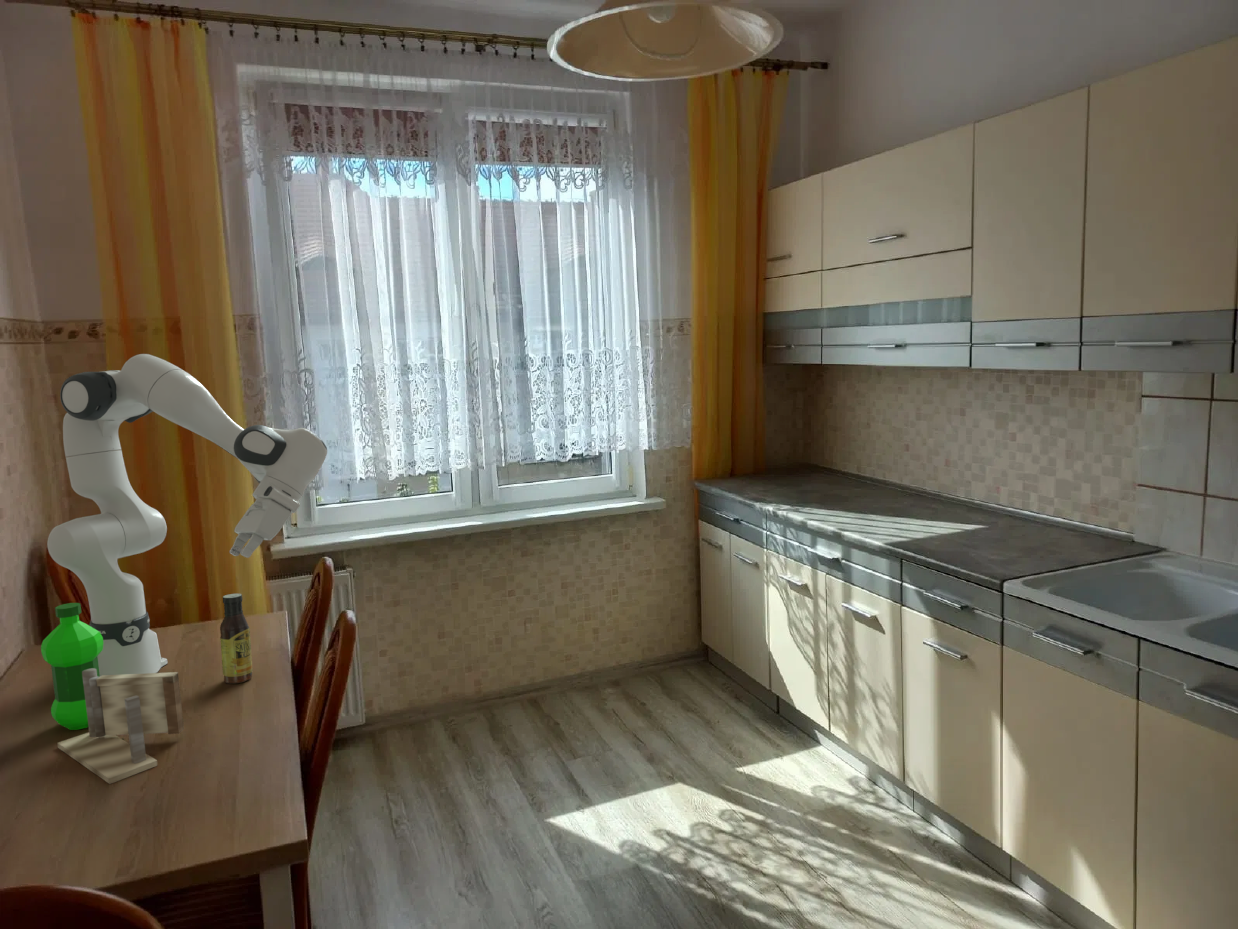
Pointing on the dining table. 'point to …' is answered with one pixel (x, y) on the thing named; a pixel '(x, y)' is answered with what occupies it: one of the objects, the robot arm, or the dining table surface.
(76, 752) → the wooden stand
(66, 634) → the plastic bottle
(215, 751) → the dining table surface
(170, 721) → the gate
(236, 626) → the sauce bottle
